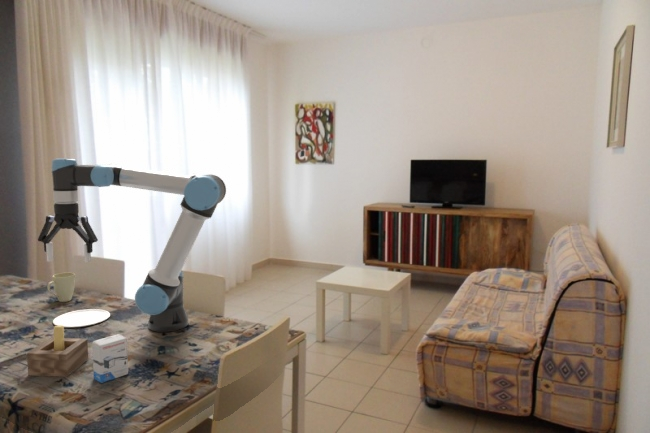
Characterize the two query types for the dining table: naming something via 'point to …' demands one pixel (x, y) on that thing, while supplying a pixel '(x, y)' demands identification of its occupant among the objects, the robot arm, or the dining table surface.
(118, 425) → the dining table surface
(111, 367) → the ink box
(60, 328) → the pin
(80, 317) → the plate
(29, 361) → the bore block
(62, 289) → the mug
